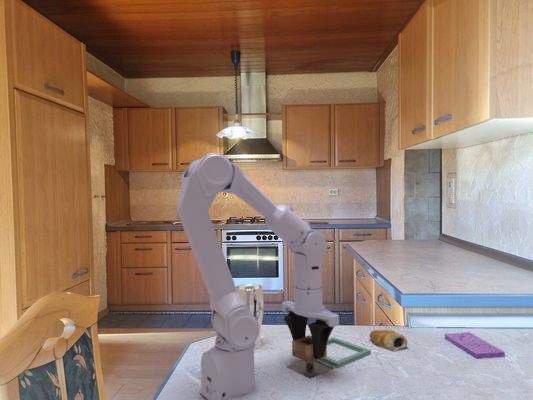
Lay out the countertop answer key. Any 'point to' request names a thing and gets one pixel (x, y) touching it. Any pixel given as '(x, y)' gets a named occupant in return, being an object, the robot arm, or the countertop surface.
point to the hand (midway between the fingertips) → (309, 353)
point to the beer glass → (253, 304)
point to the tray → (361, 353)
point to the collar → (305, 349)
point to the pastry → (388, 339)
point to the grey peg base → (310, 368)
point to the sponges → (474, 345)
